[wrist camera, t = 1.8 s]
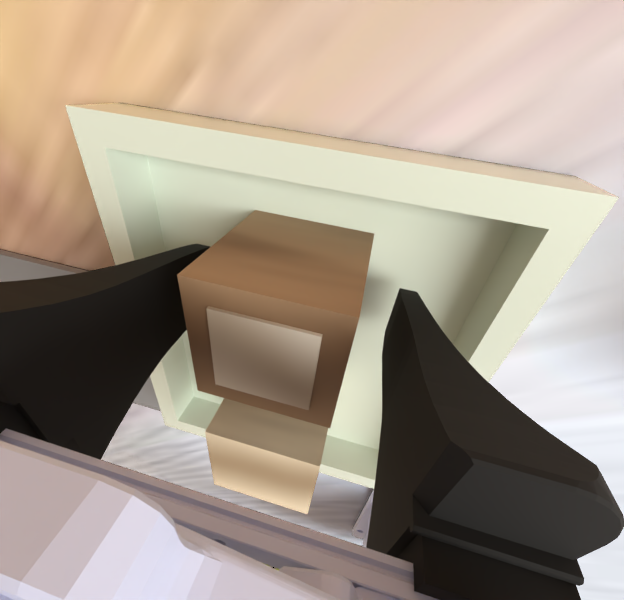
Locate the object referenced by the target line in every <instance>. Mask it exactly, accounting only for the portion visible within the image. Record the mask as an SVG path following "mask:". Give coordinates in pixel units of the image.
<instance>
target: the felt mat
mask: <svg viewBox="0 0 624 600" xmlns="http://www.w3.org/2000/svg"><path fill="white" fill-rule="evenodd" d="M82 272H87V270H83V269H79V268H74V267H70V266H66V265H62V264H58V263H54V262H50V261H46V260H42V259H37V258H33V257H29V256H25V255H21V254H17V253H13V252H9V251H5V250H1V249H0V282H6V281H19V280H30V279H40V278H47V277H55V276H62V275H70V274H76V273H82ZM133 403H135V404H139V405H142V406H145V407H149V408H152V409H155V410H159V411H161V410H160V407H159V403H158V400H157V397H156V394H155V391H154V387H153V384H152V381H151V378H150V377H149V378H148V380H147V381H146V383H145V384H144V386H143V387H142V389H141V390H140V392H139V394H138V395H137V397H136V398H135V400H134V401H133Z"/></svg>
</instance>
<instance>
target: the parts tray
mask: <svg viewBox="0 0 624 600" xmlns="http://www.w3.org/2000/svg"><path fill="white" fill-rule="evenodd" d="M65 106H66V109H67V113H68V116H69V119H70V122H71V125H72V129H73V132H74V135H75V138H76V141H77V145H78V148H79V151H80V154H81V157H82V161H83V164H84V167H85V170H86V173H87V177H88V180H89V183H90V186H91V189H92V193H93V196H94V199H95V202H96V205H97V209H98V212H99V215H100V218H101V221H102V224H103V228H104V231H105V234H106V237H107V240H108V244H109V247H110V250H111V253H112V256H113V260H114V263H115V265H119V264H123V263H126V262H130V261H134V260H138V259H141V258H145V257H148V256H152V255H155V254H158V253H162V252H165V251H169V250H172V249H175V248H179V247H183V246H187V245H191V244H201V245H206V246H210V247H211V246H212V245H214V244H215V243H216V242H217V241H218V240H220V239H221V238H222V237H223V236H224V235H226V234H227V233H228V232H229V231H231V230H232V229H233V228H234V227H235V226H237V225H238V224H239V223H240V222H241V221H243V220H244V219H245V218H246V217H247V216H249V215H250V214H251V213H252V212H254V211H255V210H259V211H264V212H269V213H274V214H279V215H284V216H289V217H294V218H299V219H304V220H309V221H314V222H319V223H324V224H329V225H334V226H339V227H344V228H349V229H354V230H359V231H364V232H369V233H374V239H373V244H372V250H371V255H370V261H369V267H368V272H367V278H366V284H365V289H364V295H363V300H362V306H361V312H360V317H359V321H358V325H357V329H356V333H355V336H354V340H353V344H352V348H351V351H350V355H349V359H348V363H347V367H346V370H345V374H344V378H343V382H342V386H341V389H340V393H339V397H338V401H337V404H336V408H335V412H334V416H333V420H332V423H331V427H330V428H328V432H327V436H326V441H325V446H324V450H323V455H322V460H321V465H320V469H319V472H320V473H323V474H326V475H330V476H333V477H336V478H339V479H343V480H346V481H349V482H352V483H356V484H359V485H362V486H366V487H369V488H372V489H374V486H375V478H376V469H377V460H378V452H379V442H380V432H381V422H382V350H383V342H384V335H385V330H386V327H387V324H388V321H389V318H390V315H391V312H392V309H393V306H394V303H395V300H396V297H397V294H398V291H399V288H402V289H406V290H411V291H416V292H418V294H419V295H420V297H421V299H422V300H423V302H424V304H425V305H426V307H427V308H428V310H429V311H430V313H431V315H432V316H433V318H434V319H435V321H436V322H437V323H438V325H439V326H440V328H441V329H442V331H443V332H444V333H445V335H446V336H447V337H448V339H449V340H450V341H451V342H452V344H453V345H454V346H455V347H456V349H457V350H458V351H459V352H460V353H461V354H462V356H463V357H464V358H465V359H466V360H467V361H468V362H469V363H470V364H471V365H472V366H473V367H474V369H475V370H476V371H477V372H478V373H479V374H480V375H481V376H482V377H483V378H484V379H485V380H486V381H487V382H489V381H490V379H491V378H492V376H493V375H494V374H495V372H496V371H497V369H498V368H499V367H500V365H501V364H502V362H503V361H504V360H505V358H506V357H507V355H508V354H509V352H510V351H511V350H512V348H513V347H514V345H515V344H516V343H517V341H518V340H519V338H520V337H521V335H522V334H523V333H524V331H525V330H526V328H527V327H528V326H529V324H530V323H531V321H532V320H533V319H534V317H535V316H536V314H537V313H538V311H539V310H540V309H541V307H542V306H543V304H544V303H545V302H546V300H547V299H548V297H549V296H550V294H551V293H552V292H553V290H554V289H555V287H556V286H557V285H558V283H559V282H560V280H561V279H562V277H563V276H564V275H565V273H566V272H567V270H568V269H569V268H570V266H571V265H572V263H573V262H574V261H575V259H576V258H577V256H578V255H579V253H580V252H581V251H582V249H583V248H584V246H585V245H586V244H587V242H588V241H589V239H590V238H591V236H592V235H593V234H594V232H595V231H596V229H597V228H598V227H599V225H600V224H601V222H602V221H603V220H604V218H605V217H606V215H607V214H608V212H609V211H610V210H611V208H612V207H613V205H614V204H615V203H616V201H617V200H618V198H619V197H617V196H615V195H613V194H611V193H609V192H607V191H605V190H603V189H601V188H598V187H596V186H594V185H592V184H590V183H588V182H586V181H584V180H582V179H580V178H578V177H576V176H571V175H565V174H558V173H552V172H546V171H540V170H534V169H528V168H521V167H515V166H509V165H503V164H497V163H490V162H484V161H478V160H472V159H466V158H459V157H453V156H447V155H441V154H435V153H428V152H422V151H416V150H410V149H404V148H398V147H391V146H385V145H379V144H373V143H367V142H360V141H354V140H348V139H342V138H336V137H329V136H323V135H317V134H311V133H305V132H298V131H292V130H286V129H280V128H274V127H268V126H261V125H255V124H249V123H243V122H237V121H230V120H224V119H218V118H212V117H206V116H199V115H193V114H187V113H181V112H175V111H168V110H162V109H156V108H150V107H144V106H138V105H131V104H125V103H101V104H78V105H65ZM150 378H151V381H152V384H153V387H154V391H155V394H156V397H157V400H158V403H159V407H160V410H161V413H162V416H163V419H164V423H165V425H166V426H169V427H172V428H176V429H179V430H182V431H186V432H189V433H192V434H195V435H199V436H202V437H205V438H206V434H205V431H206V429H207V427H208V426H209V424H210V422H211V420H212V419H213V417H214V415H215V413H216V412H217V410H218V408H219V406H220V405H221V403H222V401H223V399H224V398H222V397H219V396H215V395H212V394H208V393H205V392H201V391H198V390H197V384H196V378H195V373H194V367H193V362H192V356H191V350H190V345H189V339H188V334H187V330H186V331H185V332H184V333H183V335H182V336H181V337H180V338H179V339H178V340H177V341H176V343H175V344H174V345H173V346H172V347H171V348H170V349H169V351H168V352H167V353H166V354H165V356H164V357H163V358H162V359H161V361H160V362H159V364H158V365H157V367H156V368H155V369H154V371H153V372H152V374H151V375H150Z"/></svg>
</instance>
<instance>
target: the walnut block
mask: <svg viewBox="0 0 624 600" xmlns="http://www.w3.org/2000/svg"><path fill="white" fill-rule="evenodd" d="M373 239H374V233H369V232H364V231H359V230H354V229H349V228H344V227H339V226H334V225H329V224H324V223H319V222H314V221H309V220H304V219H299V218H294V217H289V216H284V215H279V214H274V213H269V212H264V211H259V210H255V211H254V212H252V213H251V214H250V215H249V216H247V217H246V218H245V219H244V220H243V221H241V222H240V223H239V224H238V225H237V226H235V227H234V228H233V229H232V230H231V231H229V232H228V233H227V234H226V235H224V236H223V237H222V238H221V239H220V240H218V241H217V242H216V243H215V244H214V245H212V246H211V247H210V248H209V249H208V250H206V251H205V252H204V253H203V254H201V255H200V256H199V257H198V258H197V259H195V260H194V261H193V262H192V263H191V264H189V265H188V266H187V267H186V268H185V269H183V270H182V271H181V272H180V273H179V274H177V278H178V283H179V289H180V295H181V300H182V306H183V311H184V317H185V322H186V328H187V334H188V339H189V345H190V350H191V356H192V362H193V367H194V373H195V378H196V384H197V390H198V391H201V392H205V393H208V394H212V395H215V396H219V397H222V398H226V399H229V400H233V401H236V402H240V403H243V404H247V405H250V406H254V407H257V408H261V409H264V410H268V411H271V412H275V413H278V414H282V415H285V416H289V417H292V418H296V419H299V420H303V421H306V422H310V423H313V424H317V425H320V426H324V427H327V428H330V427H331V423H332V420H333V416H334V412H335V408H336V404H337V401H338V397H339V393H340V389H341V386H342V382H343V378H344V374H345V370H346V367H347V363H348V359H349V355H350V351H351V348H352V344H353V340H354V336H355V333H356V329H357V325H358V321H359V317H360V312H361V306H362V300H363V295H364V289H365V284H366V278H367V272H368V267H369V261H370V255H371V250H372V244H373Z"/></svg>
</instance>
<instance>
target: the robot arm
mask: <svg viewBox="0 0 624 600" xmlns="http://www.w3.org/2000/svg"><path fill="white" fill-rule="evenodd" d="M209 248H210V246H206V245H201V244H191V245H187V246H183V247H179V248H175V249H172V250H169V251H165V252H162V253H158V254H155V255H152V256H148V257H145V258H141V259H138V260H134V261H130V262H126V263H123V264H119V265H115V266H111V267H107V268H102V269H98V270H92V271H87V272H82V273H76V274H70V275H62V276H55V277H47V278H40V279H30V280H19V281H6V282H0V600H581V598H580V596H579V593H578V590H577V587H576V585H579V586H580V585H582V584H583V583H584V577H583V575H582V572H581V569H580V567H579V564H578V561H577V559H578V558H580V557H582V556H584V555H586V554H588V553H590V552H592V551H594V550H597V549H599V548H601V547H603V546H605V545H607V544H609V543H610V542H612V541H613V540H615V539H616V538H617V537H618V536H619V535H620V533H621V531H622V529H623V527H624V518H623V514H622V512H621V510H620V508H619V507H618V505H617V503H616V501H615V499H614V497H613V495H612V493H611V491H610V489H609V488H608V486H607V484H606V482H605V480H604V478H603V476H602V474H601V472H600V471H599V469H598V467H597V466H596V465H595V464H594V463H592V462H591V461H589V460H588V459H586V458H585V457H584V456H582V455H581V454H579V453H578V452H576V451H575V450H573V449H572V448H571V447H569V446H568V445H566V444H565V443H563V442H562V441H560V440H559V439H558V438H556V437H555V436H553V435H552V434H550V433H549V432H548V431H546V430H545V429H544V428H542V427H541V426H540V425H538V424H537V423H536V422H535V421H533V420H532V419H531V418H529V417H528V416H527V415H526V414H524V413H523V412H522V411H521V410H519V409H518V408H517V407H516V406H515V405H513V404H512V403H511V402H510V401H509V400H507V399H506V398H505V397H504V396H503V395H502V394H501V393H500V392H498V391H497V390H496V389H495V388H494V387H493V386H492V385H491V384H490V383H488V382H487V381H486V380H485V379H484V378H483V377H482V376H481V375H480V374H479V373H478V372H477V371H476V370H475V369H474V367H473V366H472V365H471V364H470V363H469V362H468V361H467V360H466V359H465V358H464V357H463V356H462V354H461V353H460V352H459V351H458V350H457V349H456V347H455V346H454V345H453V344H452V342H451V341H450V340H449V339H448V337H447V336H446V335H445V333H444V332H443V331H442V329H441V328H440V326H439V325H438V323H437V322H436V321H435V319H434V318H433V316H432V315H431V313H430V311H429V310H428V308H427V307H426V305H425V304H424V302H423V300H422V299H421V297H420V295H419V294H418V292H416V291H411V290H406V289H402V288H399V291H398V294H397V297H396V300H395V303H394V306H393V309H392V312H391V315H390V318H389V321H388V324H387V327H386V330H385V335H384V342H383V350H382V422H381V432H380V442H379V452H378V460H377V469H376V478H375V486H374V490H373V491H372V493H371V495H370V497H369V499H368V501H367V503H366V505H365V507H364V508H363V510H362V512H361V514H360V516H359V518H358V520H357V522H356V523H355V525H354V527H353V530H352V534H353V536H355V537H357V538H360V539H363V546H360V545H357V544H354V543H350V542H347V541H344V540H341V539H338V538H335V537H332V536H329V535H326V534H323V533H320V532H317V531H314V530H311V529H308V528H305V527H302V526H299V525H296V524H293V523H290V522H287V521H284V520H281V519H278V518H275V517H272V516H269V515H266V514H263V513H260V512H257V511H254V510H251V509H248V508H245V507H242V506H239V505H236V504H233V503H230V502H227V501H224V500H221V499H218V498H215V497H212V496H209V495H206V494H202V493H199V492H196V491H193V490H190V489H187V488H184V487H181V486H178V485H175V484H172V483H169V482H166V481H163V480H160V479H157V478H154V477H151V476H148V475H145V474H142V473H139V472H136V471H133V470H130V469H127V468H124V467H121V466H118V465H115V464H112V463H109V462H106V461H103V460H101V458H102V456H103V454H104V452H105V450H106V448H107V447H108V445H109V443H110V441H111V439H112V437H113V436H114V434H115V432H116V430H117V428H118V427H119V425H120V423H121V422H122V420H123V418H124V416H125V415H126V413H127V411H128V410H129V408H130V406H131V405H132V403H133V401H134V400H135V398H136V397H137V395H138V394H139V392H140V390H141V389H142V387H143V386H144V384H145V383H146V381H147V380H148V378H149V377H150V375H151V374H152V372H153V371H154V369H155V368H156V367H157V365H158V364H159V362H160V361H161V359H162V358H163V357H164V356H165V354H166V353H167V352H168V351H169V349H170V348H171V347H172V346H173V345H174V344H175V343H176V341H177V340H178V339H179V338H180V337H181V336H182V335H183V333H184V332H185V331H186V330H187V328H186V322H185V317H184V311H183V306H182V300H181V295H180V289H179V283H178V278H177V274H179V273H180V272H181V271H182V270H183V269H185V268H186V267H187V266H188V265H189V264H191V263H192V262H193V261H194V260H195V259H197V258H198V257H199V256H200V255H201V254H203V253H204V252H205V251H206V250H208V249H209ZM263 563H264V564H263ZM265 564H267V565H270V566H272V567H275V568H278V569H279V571H278V570H276V569H274V568H272V567H270V566H267V565H265Z"/></svg>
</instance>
